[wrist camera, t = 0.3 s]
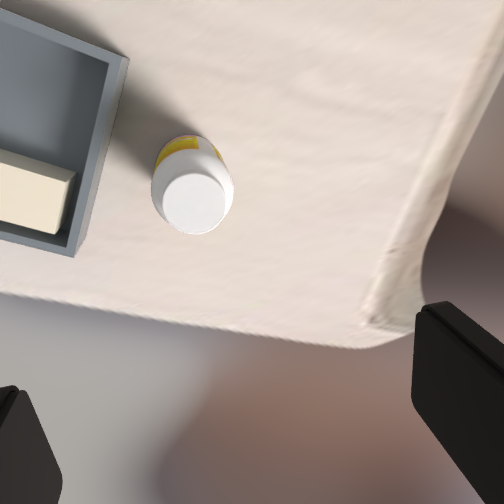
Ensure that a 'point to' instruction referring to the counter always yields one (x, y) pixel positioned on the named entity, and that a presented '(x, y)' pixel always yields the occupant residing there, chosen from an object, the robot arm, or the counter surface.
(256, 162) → the counter surface
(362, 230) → the counter surface
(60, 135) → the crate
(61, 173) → the cream rectangular box
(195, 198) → the supplement bottle
